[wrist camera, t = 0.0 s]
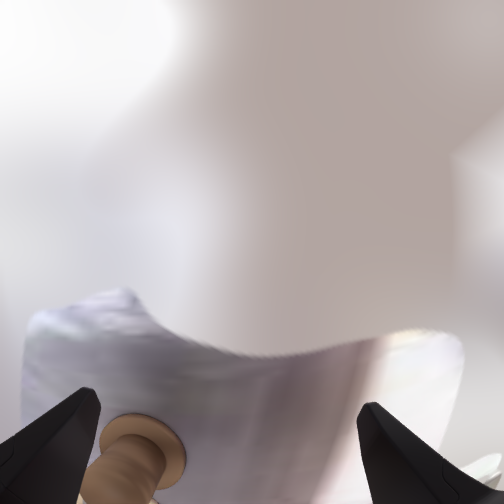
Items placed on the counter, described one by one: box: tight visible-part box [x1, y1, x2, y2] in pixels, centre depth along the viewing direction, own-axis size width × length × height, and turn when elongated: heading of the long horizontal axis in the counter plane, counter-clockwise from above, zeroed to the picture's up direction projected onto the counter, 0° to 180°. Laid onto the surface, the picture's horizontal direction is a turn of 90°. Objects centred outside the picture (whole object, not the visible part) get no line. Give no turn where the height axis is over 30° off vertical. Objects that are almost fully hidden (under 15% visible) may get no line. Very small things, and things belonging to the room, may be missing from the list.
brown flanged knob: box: [79, 414, 186, 504], centre depth 15 cm, size 8×8×9 cm
